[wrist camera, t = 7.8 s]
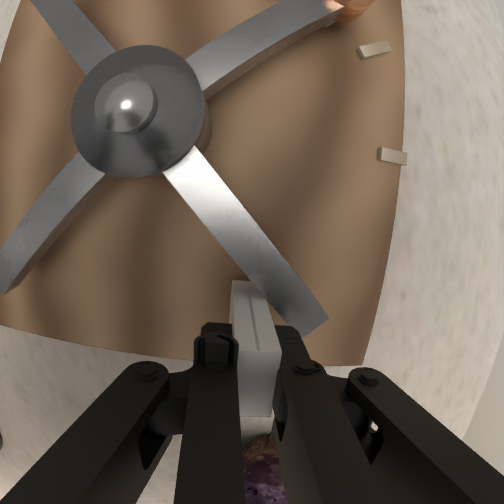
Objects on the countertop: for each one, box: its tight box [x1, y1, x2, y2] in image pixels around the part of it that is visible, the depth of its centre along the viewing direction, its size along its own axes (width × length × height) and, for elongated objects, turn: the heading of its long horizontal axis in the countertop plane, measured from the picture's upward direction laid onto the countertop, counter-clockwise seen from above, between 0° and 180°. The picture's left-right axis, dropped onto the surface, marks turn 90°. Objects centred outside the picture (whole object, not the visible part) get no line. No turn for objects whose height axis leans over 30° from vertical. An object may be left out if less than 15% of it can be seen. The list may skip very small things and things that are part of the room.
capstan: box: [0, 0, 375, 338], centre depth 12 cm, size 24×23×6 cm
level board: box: [0, 0, 407, 366], centre depth 15 cm, size 26×26×2 cm
